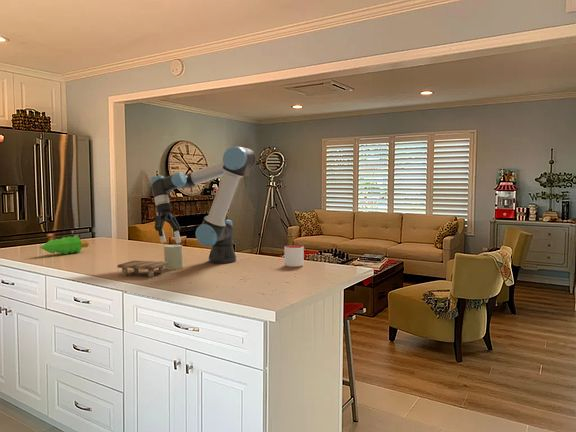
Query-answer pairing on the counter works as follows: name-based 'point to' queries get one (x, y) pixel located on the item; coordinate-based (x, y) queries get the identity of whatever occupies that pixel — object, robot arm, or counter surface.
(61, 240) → the decorative tree
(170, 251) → the grey-green block
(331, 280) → the counter surface
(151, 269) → the wooden pallet
